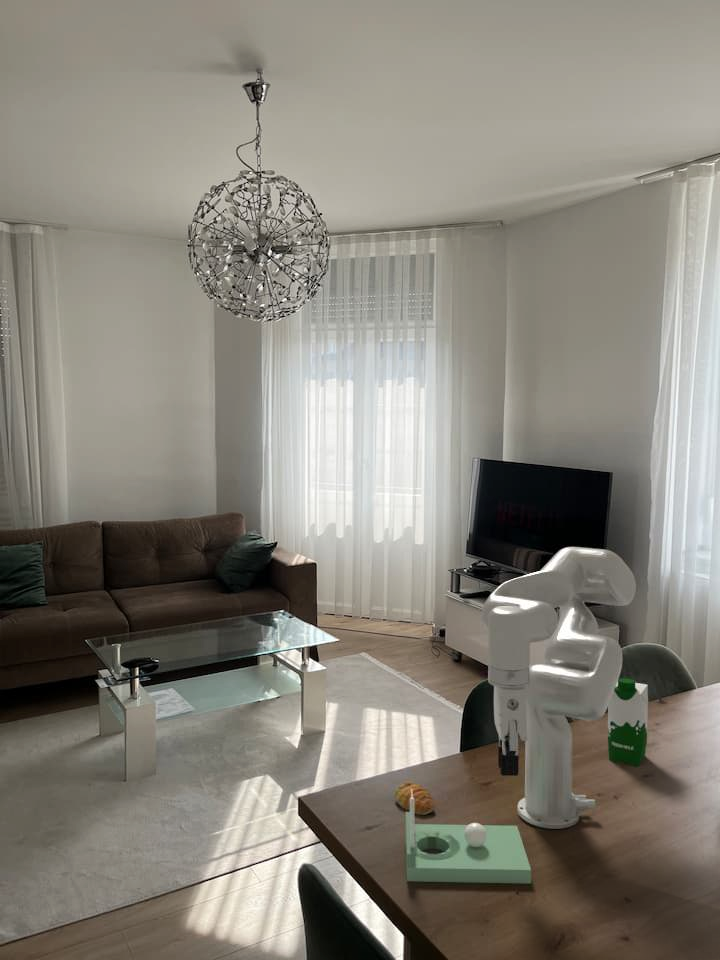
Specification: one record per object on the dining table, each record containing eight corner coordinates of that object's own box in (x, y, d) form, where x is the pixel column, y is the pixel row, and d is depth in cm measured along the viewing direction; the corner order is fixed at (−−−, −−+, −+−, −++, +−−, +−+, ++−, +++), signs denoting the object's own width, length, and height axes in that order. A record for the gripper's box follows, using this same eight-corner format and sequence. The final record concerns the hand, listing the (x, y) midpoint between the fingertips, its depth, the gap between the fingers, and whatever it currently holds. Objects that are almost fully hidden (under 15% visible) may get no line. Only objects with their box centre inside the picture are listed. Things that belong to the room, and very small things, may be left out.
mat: (517, 838, 149) (517, 813, 149) (531, 883, 134) (531, 856, 134) (405, 836, 150) (405, 811, 149) (407, 881, 135) (406, 854, 135)
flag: (413, 860, 141) (413, 788, 140) (414, 874, 137) (414, 799, 136) (409, 860, 141) (409, 788, 140) (410, 874, 137) (409, 799, 136)
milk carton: (604, 760, 183) (605, 680, 182) (613, 747, 191) (614, 669, 190) (641, 769, 179) (643, 686, 177) (649, 755, 186) (651, 675, 185)
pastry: (442, 811, 160) (442, 794, 160) (417, 820, 156) (417, 803, 156) (415, 793, 168) (415, 777, 168) (391, 802, 164) (391, 785, 164)
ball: (485, 840, 144) (485, 818, 143) (488, 852, 139) (488, 830, 139) (463, 839, 144) (463, 818, 144) (465, 851, 140) (465, 830, 139)
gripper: (537, 689, 131) (536, 792, 132) (521, 661, 147) (521, 753, 148) (494, 689, 131) (493, 791, 133) (483, 661, 147) (482, 752, 149)
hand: (508, 770), depth 140 cm, fingers closed
